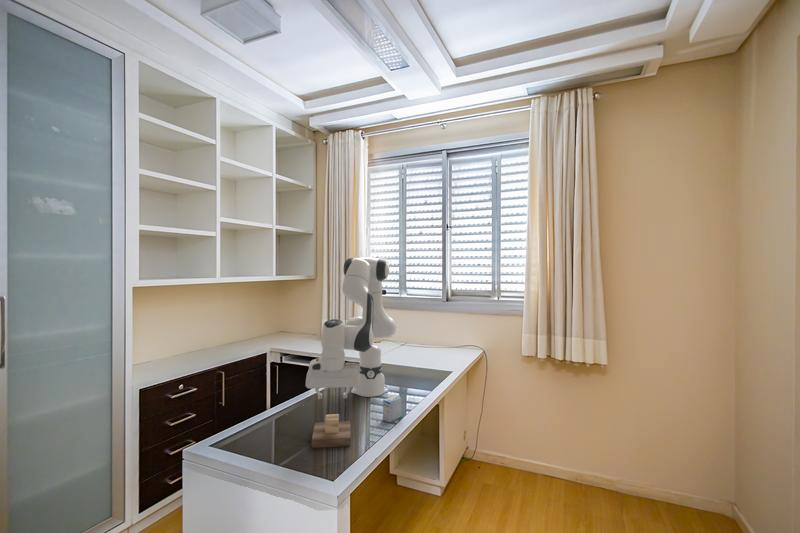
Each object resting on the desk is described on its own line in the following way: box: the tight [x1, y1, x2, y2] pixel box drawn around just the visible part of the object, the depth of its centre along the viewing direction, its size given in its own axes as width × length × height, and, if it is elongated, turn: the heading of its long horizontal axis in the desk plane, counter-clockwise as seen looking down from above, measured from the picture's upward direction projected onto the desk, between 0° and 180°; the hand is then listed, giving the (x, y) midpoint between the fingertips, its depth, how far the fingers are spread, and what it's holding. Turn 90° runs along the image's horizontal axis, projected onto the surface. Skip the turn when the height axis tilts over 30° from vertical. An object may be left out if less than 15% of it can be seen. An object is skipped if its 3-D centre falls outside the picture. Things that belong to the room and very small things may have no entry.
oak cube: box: [324, 413, 340, 433], centre depth 143 cm, size 5×5×5 cm
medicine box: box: [382, 394, 403, 423], centre depth 161 cm, size 8×4×9 cm, turn 141°
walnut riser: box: [311, 420, 352, 449], centre depth 143 cm, size 14×14×3 cm
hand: (332, 398), depth 143 cm, fingers open, 8 cm apart
